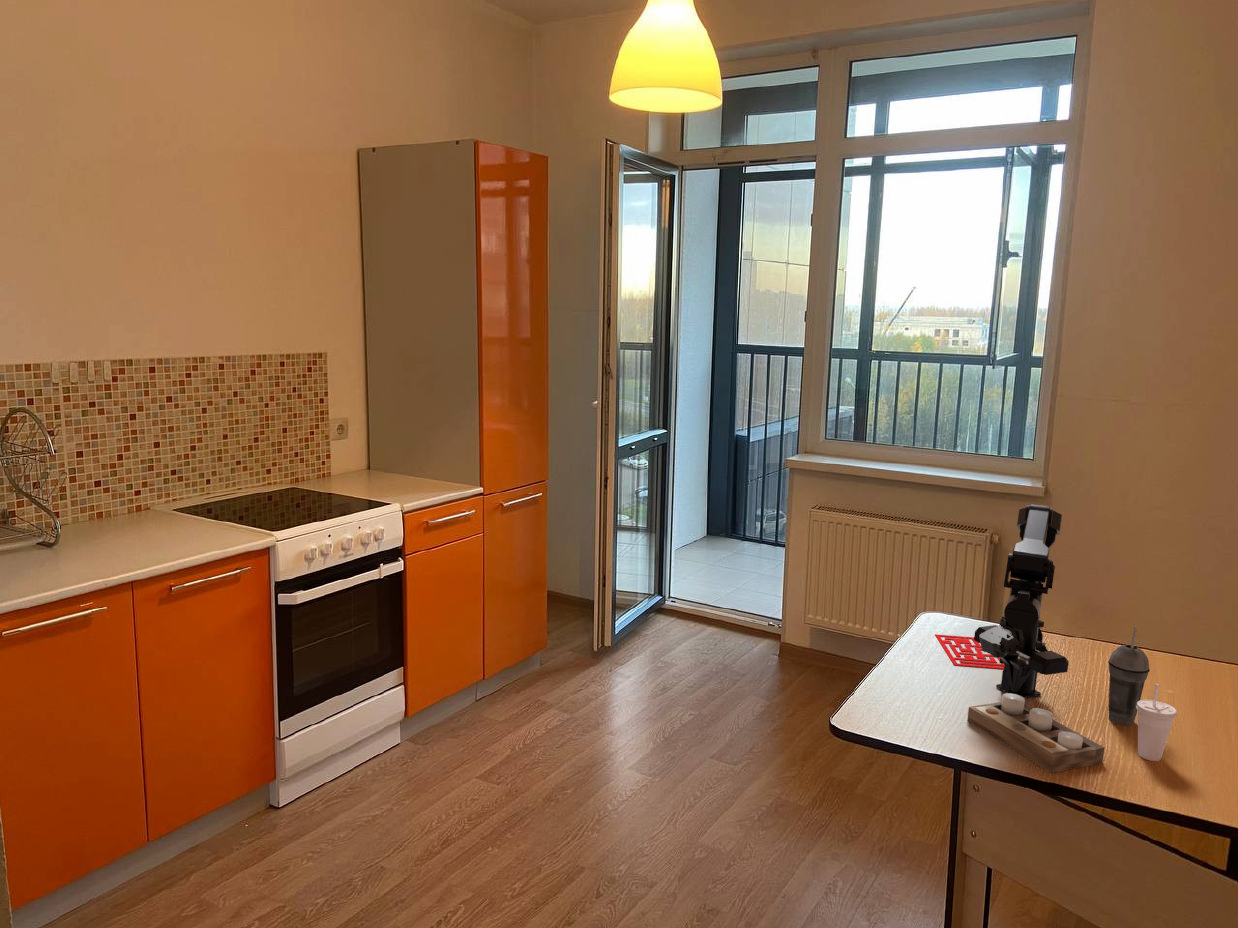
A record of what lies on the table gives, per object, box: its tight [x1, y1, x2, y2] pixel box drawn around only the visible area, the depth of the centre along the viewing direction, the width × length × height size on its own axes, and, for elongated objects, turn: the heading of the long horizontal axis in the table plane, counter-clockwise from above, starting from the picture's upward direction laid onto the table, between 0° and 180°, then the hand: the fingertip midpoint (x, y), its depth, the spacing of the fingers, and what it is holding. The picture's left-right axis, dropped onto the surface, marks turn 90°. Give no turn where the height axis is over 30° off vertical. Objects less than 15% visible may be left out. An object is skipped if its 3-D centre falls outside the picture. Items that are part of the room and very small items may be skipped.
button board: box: [966, 701, 1105, 774], centre depth 171 cm, size 12×21×3 cm, turn 21°
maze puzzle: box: [934, 633, 1004, 671], centre depth 216 cm, size 20×20×1 cm
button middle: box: [1028, 707, 1054, 732], centre depth 172 cm, size 4×4×3 cm
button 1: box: [1001, 692, 1026, 716], centre depth 178 cm, size 4×4×3 cm
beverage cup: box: [1107, 625, 1151, 726], centre depth 181 cm, size 7×7×20 cm
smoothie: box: [1136, 683, 1178, 762], centre depth 166 cm, size 6×6×14 cm
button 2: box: [1057, 731, 1083, 750], centre depth 165 cm, size 4×4×3 cm
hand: (1014, 690), depth 178 cm, fingers closed
